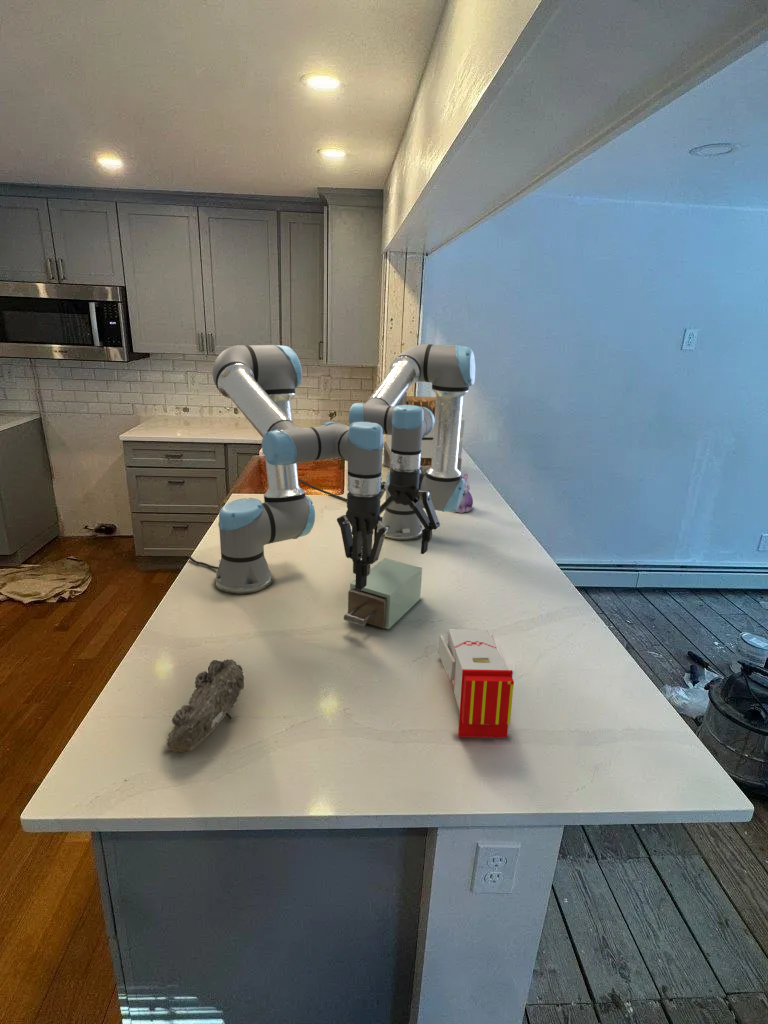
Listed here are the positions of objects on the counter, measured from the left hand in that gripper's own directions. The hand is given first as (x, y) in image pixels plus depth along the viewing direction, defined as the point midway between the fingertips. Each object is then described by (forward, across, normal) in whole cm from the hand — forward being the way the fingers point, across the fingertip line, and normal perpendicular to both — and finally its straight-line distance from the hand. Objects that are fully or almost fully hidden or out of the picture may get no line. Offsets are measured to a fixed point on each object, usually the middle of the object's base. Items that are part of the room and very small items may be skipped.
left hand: (360, 586), depth 135 cm
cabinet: (+12, 0, +14) cm, 18 cm away
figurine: (+12, -12, +100) cm, 101 cm away
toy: (+12, +32, -8) cm, 35 cm away
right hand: (-4, +1, +19) cm, 19 cm away
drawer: (+11, 0, +8) cm, 14 cm away
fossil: (+12, -8, -41) cm, 44 cm away
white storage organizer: (+12, -48, +138) cm, 147 cm away
